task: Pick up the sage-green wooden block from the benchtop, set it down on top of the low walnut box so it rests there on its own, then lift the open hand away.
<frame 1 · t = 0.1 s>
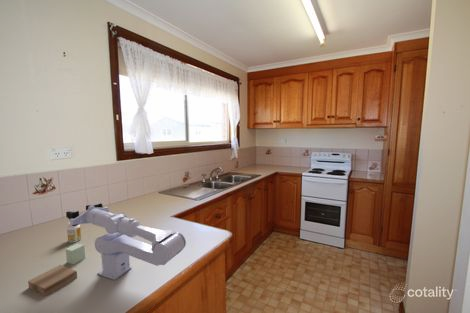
hand: (77, 210, 90), 22 cm above the worktop, tool horizontal, fingers open, 7 cm apart
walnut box: (54, 283, 79), on the worktop
sage-green block: (76, 260, 93), on the worktop
supplement bottle: (74, 240, 110), on the worktop
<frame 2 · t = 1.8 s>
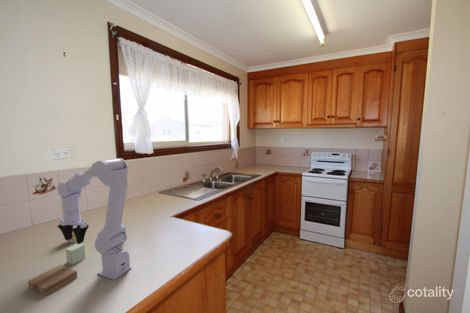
hand: (74, 241, 92), 9 cm above the worktop, tool pointing down, fingers open, 7 cm apart
nothing on the worktop moved.
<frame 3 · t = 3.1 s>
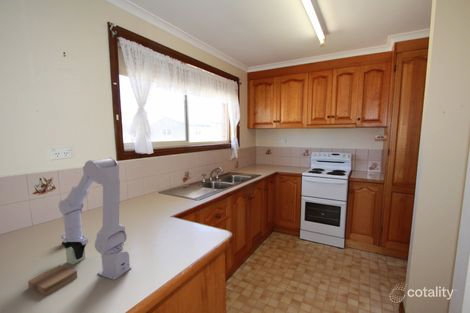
hand: (76, 257, 93), 1 cm above the worktop, tool pointing down, fingers closed on sage-green block, 4 cm apart
sage-green block: (76, 260, 93), on the worktop, touching gripper
everything else where it was.
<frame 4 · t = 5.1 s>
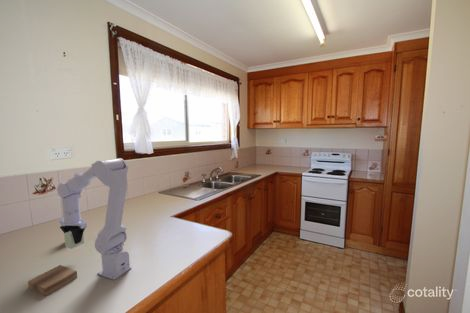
hand: (74, 241, 92), 8 cm above the worktop, tool pointing down, fingers closed on sage-green block, 4 cm apart
sage-green block: (74, 244, 92), point 7 cm above the worktop, touching gripper
everything else where it was.
when the fingers open (6 cm above the worktop, at t = 7.4 s): sage-green block drops 2 cm, resting on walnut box.
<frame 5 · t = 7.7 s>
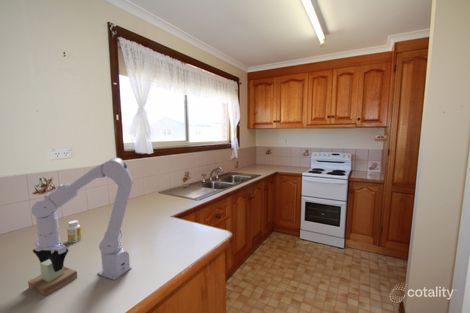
hand: (52, 267, 78), 6 cm above the worktop, tool pointing down, fingers open, 7 cm apart
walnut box: (54, 283, 79), on the worktop, touching sage-green block
sage-green block: (53, 276, 79), point 2 cm above the worktop, touching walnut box
everything else where it was.
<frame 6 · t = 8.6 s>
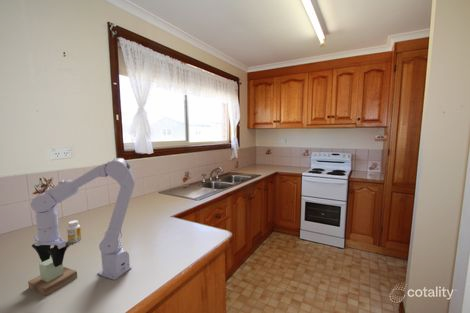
hand: (52, 262, 78), 8 cm above the worktop, tool pointing down, fingers open, 7 cm apart
nothing on the worktop moved.
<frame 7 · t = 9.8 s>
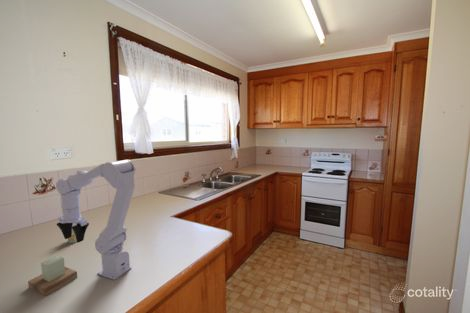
hand: (74, 239, 89), 10 cm above the worktop, tool pointing down, fingers open, 7 cm apart
nothing on the worktop moved.
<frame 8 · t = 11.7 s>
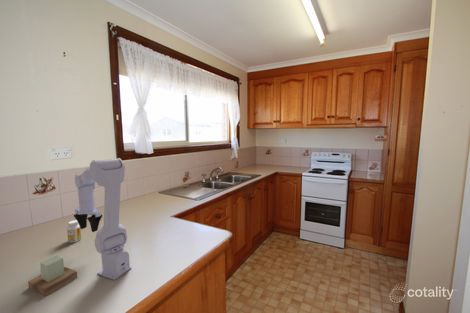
hand: (89, 229, 98), 10 cm above the worktop, tool pointing down, fingers open, 7 cm apart
nothing on the worktop moved.
at the end: sage-green block 0.1 cm off-centre on the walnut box, point 3.0 cm above the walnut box's base; sage-green block tilted 1°; the gripper is holding nothing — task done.
